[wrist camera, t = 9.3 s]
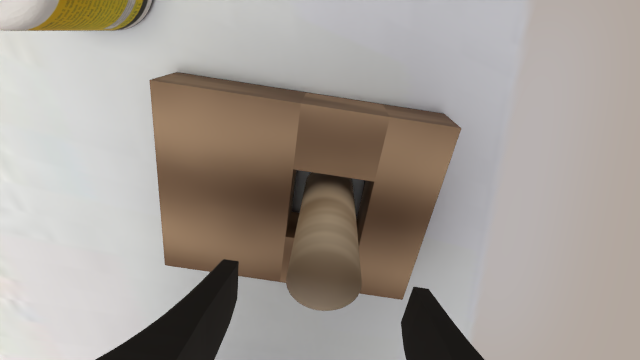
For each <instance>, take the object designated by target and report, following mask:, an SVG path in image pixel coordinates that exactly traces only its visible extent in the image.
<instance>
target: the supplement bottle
mask: <svg viewBox="0 0 640 360" xmlns="http://www.w3.org/2000/svg"><path fill="white" fill-rule="evenodd" d="M151 3H152V0H0V30H3V31H114V30H123V29H127V28H130V27H132V26H134V25H136V24H137V23H138V22H140V21H141V20H142V19H143V18H144V16H145V15H146V14H147V12H148V10H149V8H150V6H151Z"/></svg>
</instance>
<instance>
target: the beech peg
mask: <svg viewBox="0 0 640 360" xmlns="http://www.w3.org/2000/svg"><path fill="white" fill-rule="evenodd" d="M286 284H287V288H288V290H289V293H290V294H291V296H292V297H293V298H294V299H295V300H296V301H297V302H299V303H300V304H302V305H304V306H306V307H308V308H311V309H315V310H321V311H330V310H336V309H340V308H343V307H345V306H347V305H349V304H350V303H351V302H353V301H354V300H355V299H356V297H357V296H358V295H359V293H360V290H361V286H362V278H361V267H360V256H359V245H358V235H357V224H356V213H355V202H354V191H353V183H352V180H351V178H347V177H340V176H334V175H327V174H321V173H314V172H311V173H310V175H309V176H308V178H307V180H306V184H305V189H304V194H303V199H302V204H301V208H300V213H299V218H298V223H297V228H296V233H295V238H294V242H293V247H292V252H291V257H290V262H289V267H288V272H287V277H286Z"/></svg>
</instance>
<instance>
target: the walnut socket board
mask: <svg viewBox="0 0 640 360" xmlns="http://www.w3.org/2000/svg"><path fill="white" fill-rule="evenodd" d="M150 90H151V102H152V114H153V126H154V138H155V150H156V162H157V174H158V186H159V198H160V210H161V222H162V234H163V246H164V258H165V265H168V266H174V267H181V268H188V269H195V270H202V271H209V272H211V271H212V270H213V269H214V268H215V267H216V266H217V265H218V264H219V263H220V262H221V261H222V260H223V259H226V260H233V261H239V267H238V276H243V277H250V278H257V279H264V280H271V281H278V282H284V283H286V277H287V272H288V267H289V262H290V257H291V252H292V247H293V242H294V238H295V233H296V228H297V223H298V218H299V213H298V212H292V204H293V196H294V188H295V179H296V171H297V170H301V171H307V172H314V173H321V174H327V175H334V176H340V177H347V178H354V179H360V180H366V181H365V185H364V189H363V194H362V198H361V203H360V207H359V211H358V216H357V220H356V224H357V235H358V245H359V256H360V267H361V278H362V286H361V290H360V294H367V295H374V296H381V297H388V298H394V299H401V300H403V297H404V294H405V291H406V288H407V285H408V282H409V279H410V276H411V273H412V270H413V268H414V265H415V262H416V259H417V256H418V253H419V250H420V247H421V244H422V241H423V238H424V235H425V233H426V230H427V227H428V224H429V221H430V218H431V215H432V212H433V209H434V206H435V203H436V200H437V198H438V195H439V192H440V189H441V186H442V183H443V180H444V177H445V174H446V171H447V168H448V166H449V163H450V160H451V157H452V154H453V151H454V148H455V145H456V142H457V139H458V136H459V133H460V131H461V128H460V127H459V126H458V125H457V124H456V123H454V122H453V121H452V120H451V119H450V118H448V117H447V116H446V115H445V114H442V113H436V112H429V111H423V110H416V109H410V108H403V107H397V106H390V105H384V104H378V103H371V102H365V101H358V100H352V99H345V98H339V97H332V96H326V95H320V94H313V93H307V92H300V91H294V90H287V89H281V88H274V87H268V86H261V85H255V84H249V83H242V82H236V81H229V80H223V79H216V78H210V77H203V76H197V75H191V74H184V73H178V72H176V73H172V74H169V75H165V76H162V77H159V78H155V79H152V80H150Z"/></svg>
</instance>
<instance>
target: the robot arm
mask: <svg viewBox="0 0 640 360" xmlns="http://www.w3.org/2000/svg"><path fill="white" fill-rule="evenodd" d="M238 267H239V261H233V260H226V259H223V260H222V261H221V262H220V263H219V264H218V265H217V266H216V267H215V268H214V269H213V270H212V271H211V272H210V273H209V274H208V275H207V276H206V277H205V278H204V279H203V280H202V281H201V282H200V283H199V284H198V285H197V286H196V287H195V288H194V289H193V290H192V291H191V292H190V293H189V294H188V295H187V296H185V297H184V298H183V299H182V300H181V301H180V302H178V303H177V304H176V305H175V306H174V307H173V308H171V309H170V310H169V311H168V312H167V313H165V314H164V315H163V316H161V317H160V318H159V319H158V320H156V321H155V322H154V323H152V324H151V325H149V326H148V327H147V328H145V329H144V330H142V331H141V332H139V333H138V334H137V335H135V336H134V337H132V338H131V339H129V340H128V341H126V342H124V343H123V344H121V345H120V346H118V347H117V348H115V349H113V350H111V351H110V352H108V353H106V354H104V355H103V356H101V357H99V358H98V359H96V360H214V359H215V357H216V354H217V352H218V350H219V347H220V345H221V343H222V340H223V338H224V336H225V333H226V331H227V328H228V326H229V324H230V321H231V317H232V314H233V311H234V308H235V304H236V301H237V290H238ZM401 327H402V337H403V345H404V351H405V355H406V360H484V359H483V358H482V356H481V355H480V354H479V353H478V352H477V351H476V350H475V348H474V347H473V346H472V345H471V344H470V342H469V341H468V340H467V339H466V338H465V336H464V335H463V334H462V333H461V331H460V330H459V329H458V328H457V326H456V325H455V324H454V323H453V321H452V320H451V319H450V317H449V316H448V315H447V313H446V312H445V311H444V309H443V308H442V307H441V305H440V304H439V303H438V301H437V300H436V299H435V297H434V296H433V294H432V293H431V292H430V291H429V289H425V288H418V287H413V290H412V293H411V296H410V298H409V301H408V304H407V307H406V310H405V313H404V315H403V318H402V321H401Z"/></svg>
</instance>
